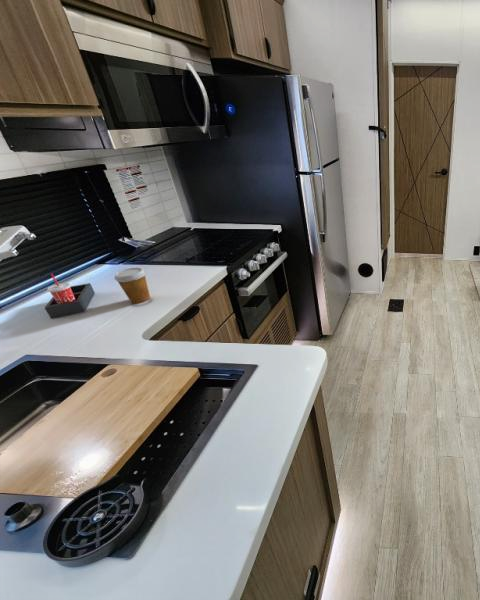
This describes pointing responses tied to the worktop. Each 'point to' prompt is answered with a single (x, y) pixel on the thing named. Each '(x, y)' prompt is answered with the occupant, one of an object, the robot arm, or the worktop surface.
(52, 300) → the box
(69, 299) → the beverage cup
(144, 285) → the disposable coffee cup
